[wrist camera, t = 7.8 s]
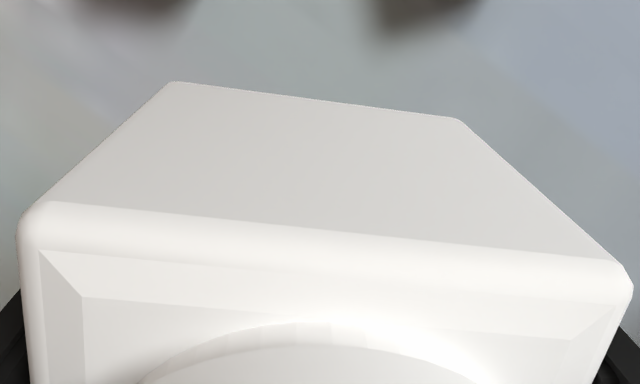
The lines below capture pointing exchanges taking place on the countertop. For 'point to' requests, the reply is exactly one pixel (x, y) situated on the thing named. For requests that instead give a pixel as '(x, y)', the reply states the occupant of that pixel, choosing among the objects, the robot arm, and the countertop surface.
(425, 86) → the countertop surface
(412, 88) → the countertop surface
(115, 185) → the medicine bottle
